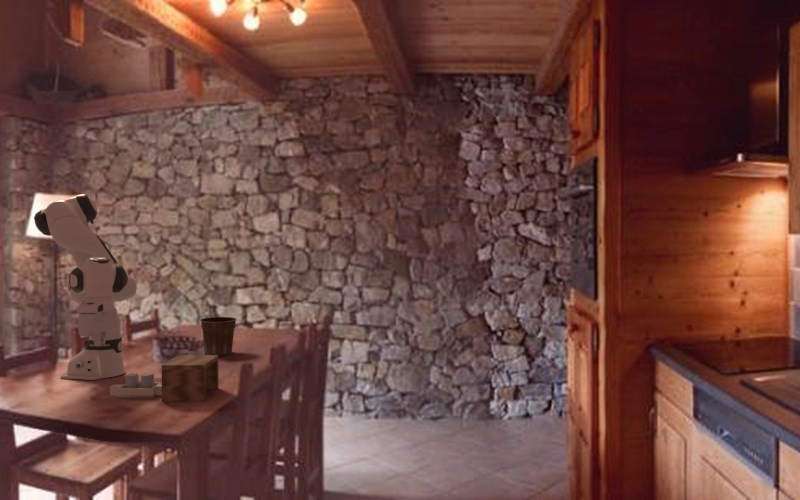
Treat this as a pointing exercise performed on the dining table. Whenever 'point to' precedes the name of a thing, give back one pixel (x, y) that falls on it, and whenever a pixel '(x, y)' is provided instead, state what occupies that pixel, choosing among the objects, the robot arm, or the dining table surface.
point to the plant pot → (218, 335)
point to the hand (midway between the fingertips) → (99, 345)
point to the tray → (136, 391)
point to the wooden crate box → (189, 377)
